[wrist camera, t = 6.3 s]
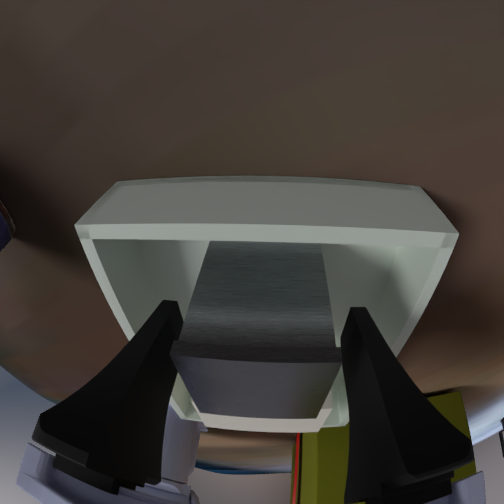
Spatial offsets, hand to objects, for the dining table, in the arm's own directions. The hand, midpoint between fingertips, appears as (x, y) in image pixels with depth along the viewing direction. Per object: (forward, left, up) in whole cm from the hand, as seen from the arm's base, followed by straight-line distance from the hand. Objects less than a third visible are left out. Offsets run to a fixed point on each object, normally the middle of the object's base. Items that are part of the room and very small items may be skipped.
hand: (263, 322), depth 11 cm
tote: (-4, 0, -3) cm, 6 cm away
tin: (0, 0, -3) cm, 3 cm away
